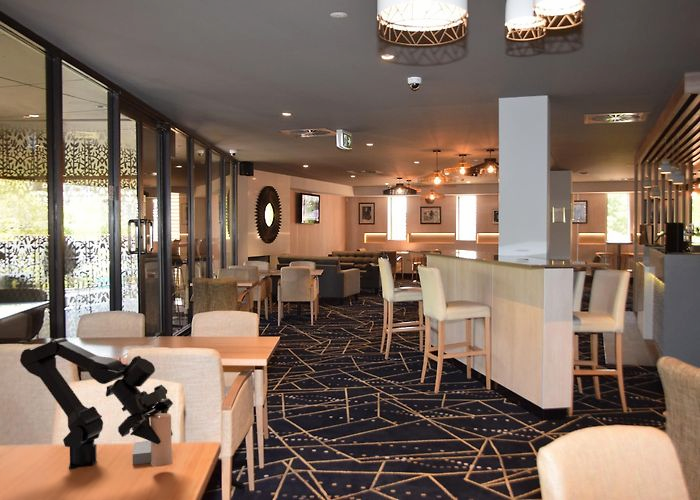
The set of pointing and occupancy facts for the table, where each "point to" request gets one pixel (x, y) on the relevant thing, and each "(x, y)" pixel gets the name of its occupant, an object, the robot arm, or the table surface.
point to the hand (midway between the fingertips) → (165, 439)
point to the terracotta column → (162, 451)
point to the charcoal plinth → (142, 452)
